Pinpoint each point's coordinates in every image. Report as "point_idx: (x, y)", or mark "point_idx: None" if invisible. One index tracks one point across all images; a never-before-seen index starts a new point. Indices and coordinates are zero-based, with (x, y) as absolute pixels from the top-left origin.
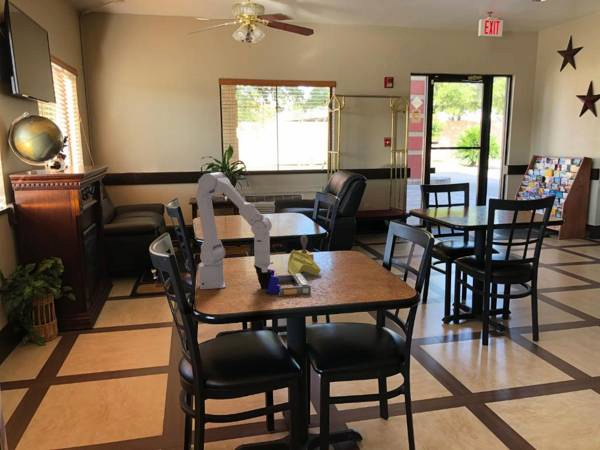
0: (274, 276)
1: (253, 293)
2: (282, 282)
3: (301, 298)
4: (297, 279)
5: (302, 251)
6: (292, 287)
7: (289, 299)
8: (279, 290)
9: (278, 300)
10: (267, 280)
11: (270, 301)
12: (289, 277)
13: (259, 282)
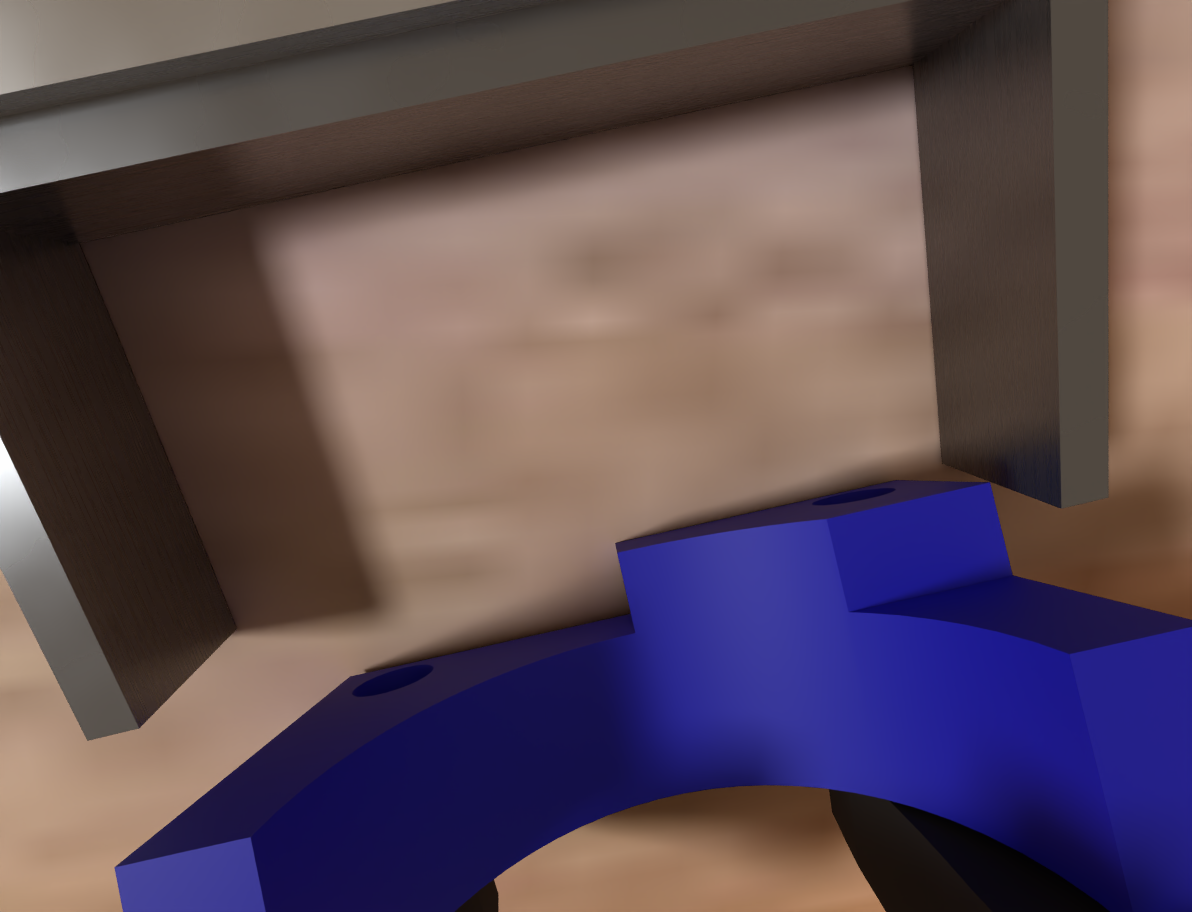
0: (1176, 786)
1: (782, 851)
2: (164, 472)
3: (1166, 36)
4: (396, 44)
5: None
6: (1103, 193)
7: (1165, 276)
8: (1021, 488)
9: (1167, 460)
10: (1019, 859)
11: (1181, 574)
12: (8, 320)
13: (497, 906)
